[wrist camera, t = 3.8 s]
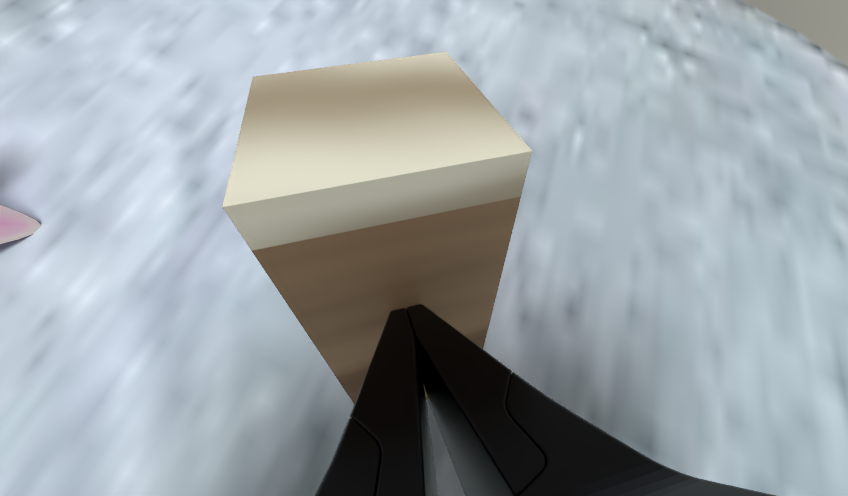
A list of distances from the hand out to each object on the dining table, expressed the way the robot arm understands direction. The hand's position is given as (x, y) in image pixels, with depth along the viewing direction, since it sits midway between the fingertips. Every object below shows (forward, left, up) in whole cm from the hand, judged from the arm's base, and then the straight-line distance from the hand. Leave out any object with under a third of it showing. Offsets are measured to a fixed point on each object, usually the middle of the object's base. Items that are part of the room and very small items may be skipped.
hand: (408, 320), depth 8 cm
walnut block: (0, 0, -8) cm, 8 cm away
